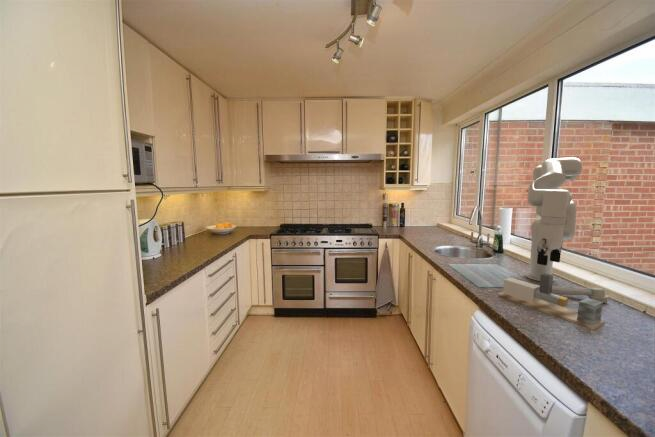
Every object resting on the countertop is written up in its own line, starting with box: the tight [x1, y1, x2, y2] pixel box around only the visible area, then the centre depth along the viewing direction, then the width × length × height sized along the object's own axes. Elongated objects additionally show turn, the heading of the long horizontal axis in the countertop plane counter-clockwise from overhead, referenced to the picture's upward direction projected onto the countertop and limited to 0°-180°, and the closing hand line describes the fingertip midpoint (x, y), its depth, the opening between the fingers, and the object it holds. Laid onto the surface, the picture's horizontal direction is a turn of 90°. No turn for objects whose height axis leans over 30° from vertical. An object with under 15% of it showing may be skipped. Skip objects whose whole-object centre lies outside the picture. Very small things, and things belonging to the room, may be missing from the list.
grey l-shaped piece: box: [534, 273, 569, 308], centre depth 113 cm, size 21×3×10 cm, turn 26°
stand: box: [497, 291, 605, 331], centre depth 110 cm, size 33×9×8 cm, turn 26°
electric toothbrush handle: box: [537, 284, 609, 304], centre depth 120 cm, size 5×7×25 cm
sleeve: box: [502, 277, 540, 303], centre depth 118 cm, size 12×5×7 cm, turn 27°
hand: (548, 263), depth 108 cm, fingers open, 9 cm apart
